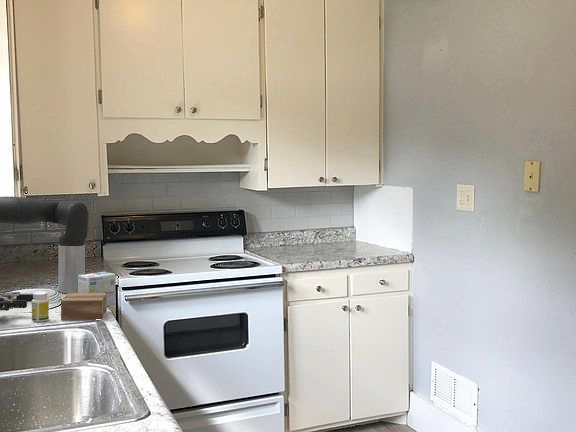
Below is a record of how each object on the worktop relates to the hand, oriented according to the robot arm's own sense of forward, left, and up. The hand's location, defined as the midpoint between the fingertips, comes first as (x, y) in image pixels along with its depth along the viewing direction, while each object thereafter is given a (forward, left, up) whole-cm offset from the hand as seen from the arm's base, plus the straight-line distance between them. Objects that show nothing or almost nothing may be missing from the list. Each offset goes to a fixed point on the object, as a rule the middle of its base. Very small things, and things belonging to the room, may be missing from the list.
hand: (30, 301), depth 196 cm
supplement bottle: (0, +3, -6) cm, 7 cm away
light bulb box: (-20, +17, -6) cm, 27 cm away
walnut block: (-6, +15, -6) cm, 17 cm away
